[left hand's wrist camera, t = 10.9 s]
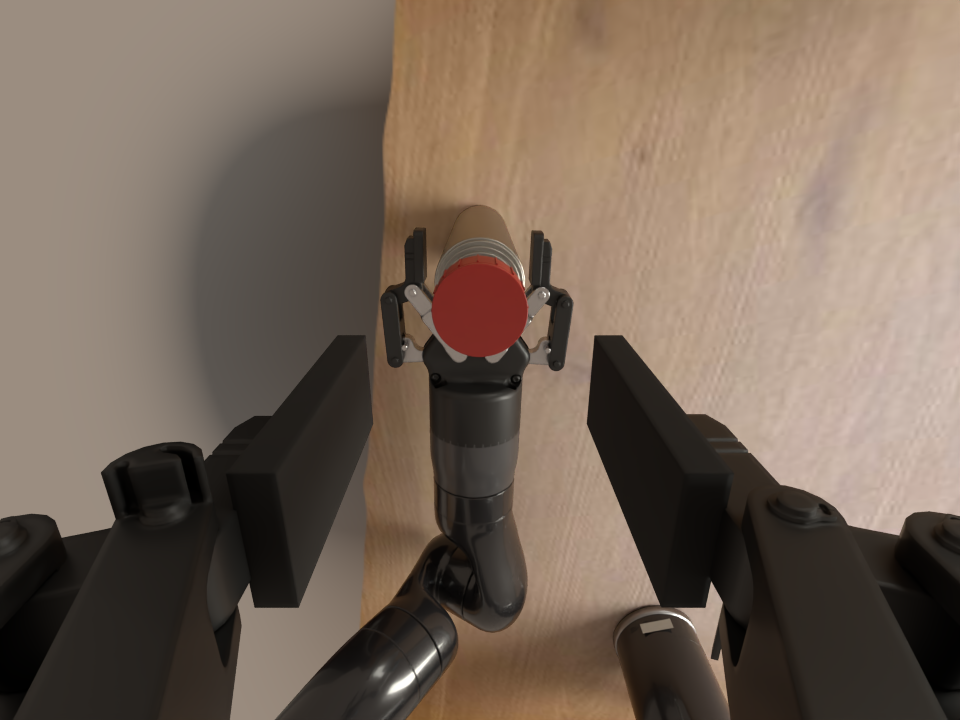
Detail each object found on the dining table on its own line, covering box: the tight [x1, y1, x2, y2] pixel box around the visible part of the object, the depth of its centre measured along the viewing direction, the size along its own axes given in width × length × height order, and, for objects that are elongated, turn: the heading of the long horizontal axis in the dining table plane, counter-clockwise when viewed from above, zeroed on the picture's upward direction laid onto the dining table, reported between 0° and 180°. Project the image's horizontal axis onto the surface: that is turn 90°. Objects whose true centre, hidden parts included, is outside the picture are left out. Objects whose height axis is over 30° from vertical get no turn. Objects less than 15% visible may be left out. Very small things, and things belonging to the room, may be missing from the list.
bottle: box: [435, 205, 525, 288], centre depth 32 cm, size 4×4×24 cm
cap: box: [431, 254, 529, 357], centre depth 22 cm, size 4×4×2 cm
